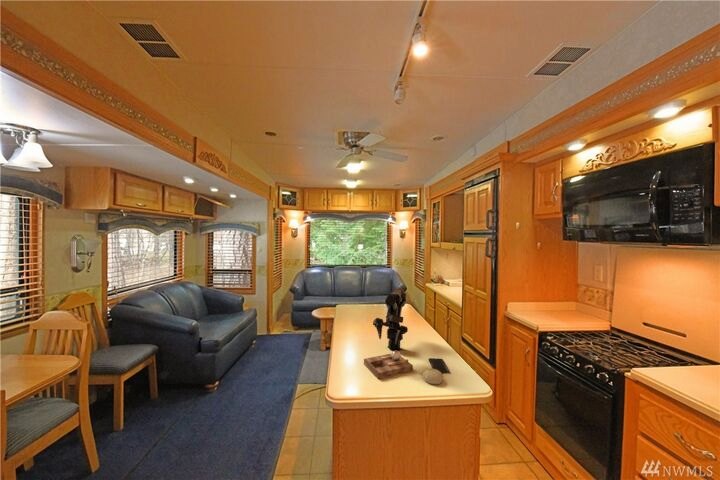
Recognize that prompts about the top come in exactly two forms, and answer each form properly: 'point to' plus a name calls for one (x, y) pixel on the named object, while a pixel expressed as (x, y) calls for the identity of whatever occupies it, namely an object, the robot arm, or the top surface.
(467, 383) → the top surface
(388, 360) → the hole deck
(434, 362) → the phone
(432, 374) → the sea urchin shell
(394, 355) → the steel ball
